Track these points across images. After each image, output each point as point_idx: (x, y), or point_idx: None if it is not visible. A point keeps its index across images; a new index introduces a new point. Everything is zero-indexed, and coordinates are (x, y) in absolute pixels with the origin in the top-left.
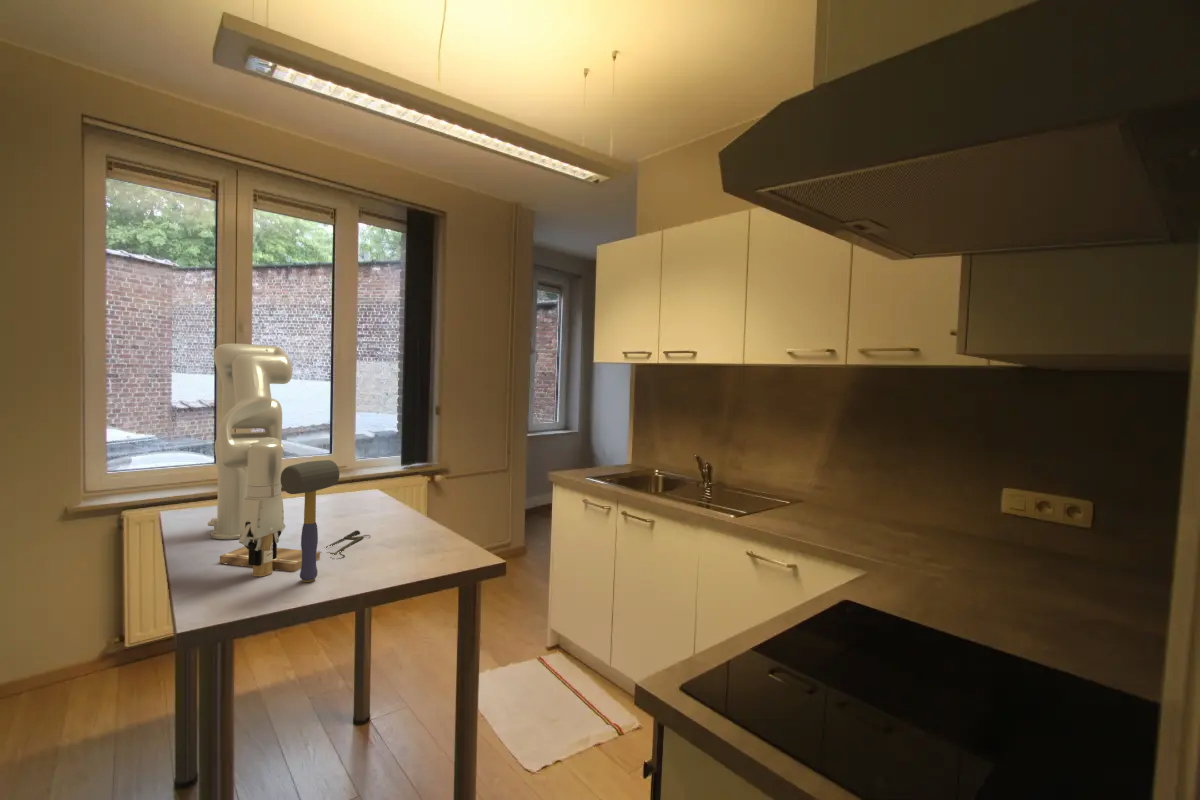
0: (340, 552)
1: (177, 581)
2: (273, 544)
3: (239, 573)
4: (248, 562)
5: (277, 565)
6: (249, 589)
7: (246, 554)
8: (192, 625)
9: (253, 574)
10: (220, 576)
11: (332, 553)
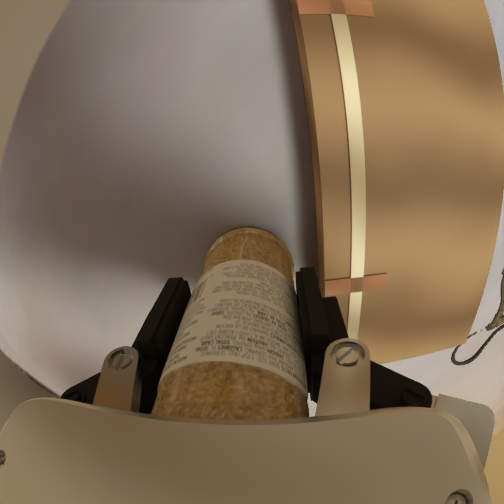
0: (501, 328)
1: (46, 41)
2: (309, 389)
3: (206, 160)
4: (166, 282)
5: (321, 295)
6: (122, 333)
7: (376, 38)
8: (4, 345)
9: (205, 259)
10: (138, 117)
11: (497, 316)
